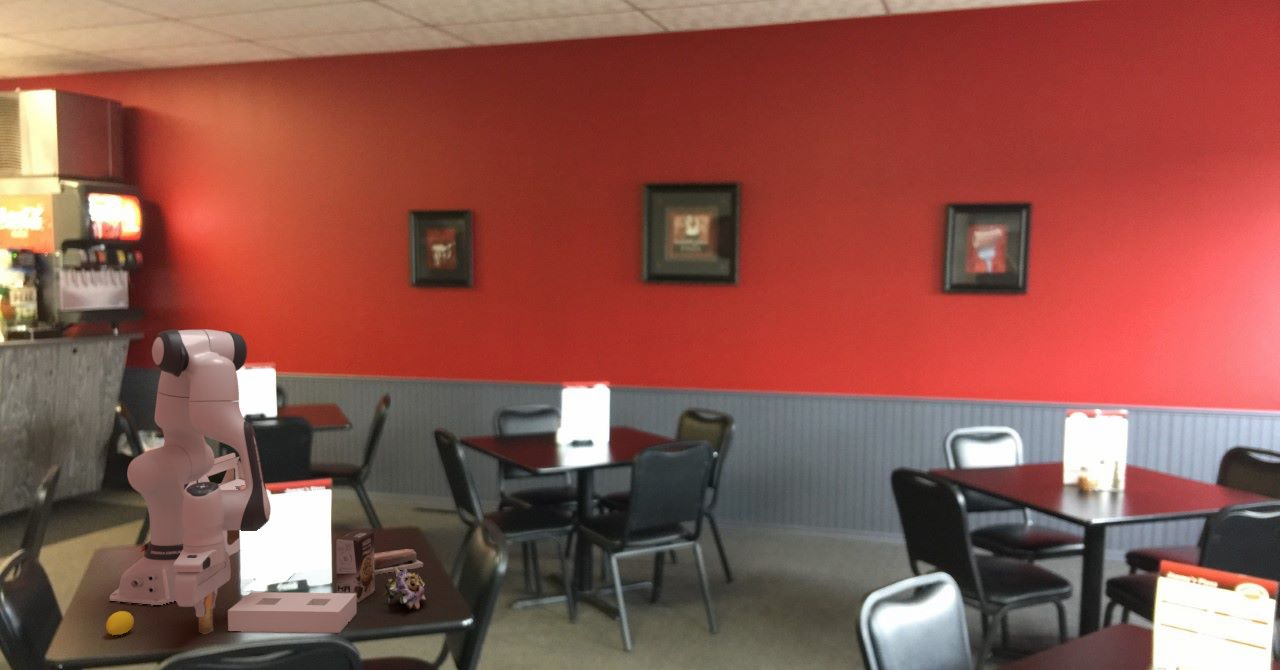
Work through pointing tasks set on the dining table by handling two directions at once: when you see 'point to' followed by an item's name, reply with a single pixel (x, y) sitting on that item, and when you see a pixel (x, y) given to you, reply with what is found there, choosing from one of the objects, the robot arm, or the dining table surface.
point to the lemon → (119, 623)
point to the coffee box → (355, 564)
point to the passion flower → (406, 588)
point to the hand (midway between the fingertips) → (205, 612)
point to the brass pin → (207, 616)
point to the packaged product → (395, 561)
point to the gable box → (228, 483)
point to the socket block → (292, 612)
